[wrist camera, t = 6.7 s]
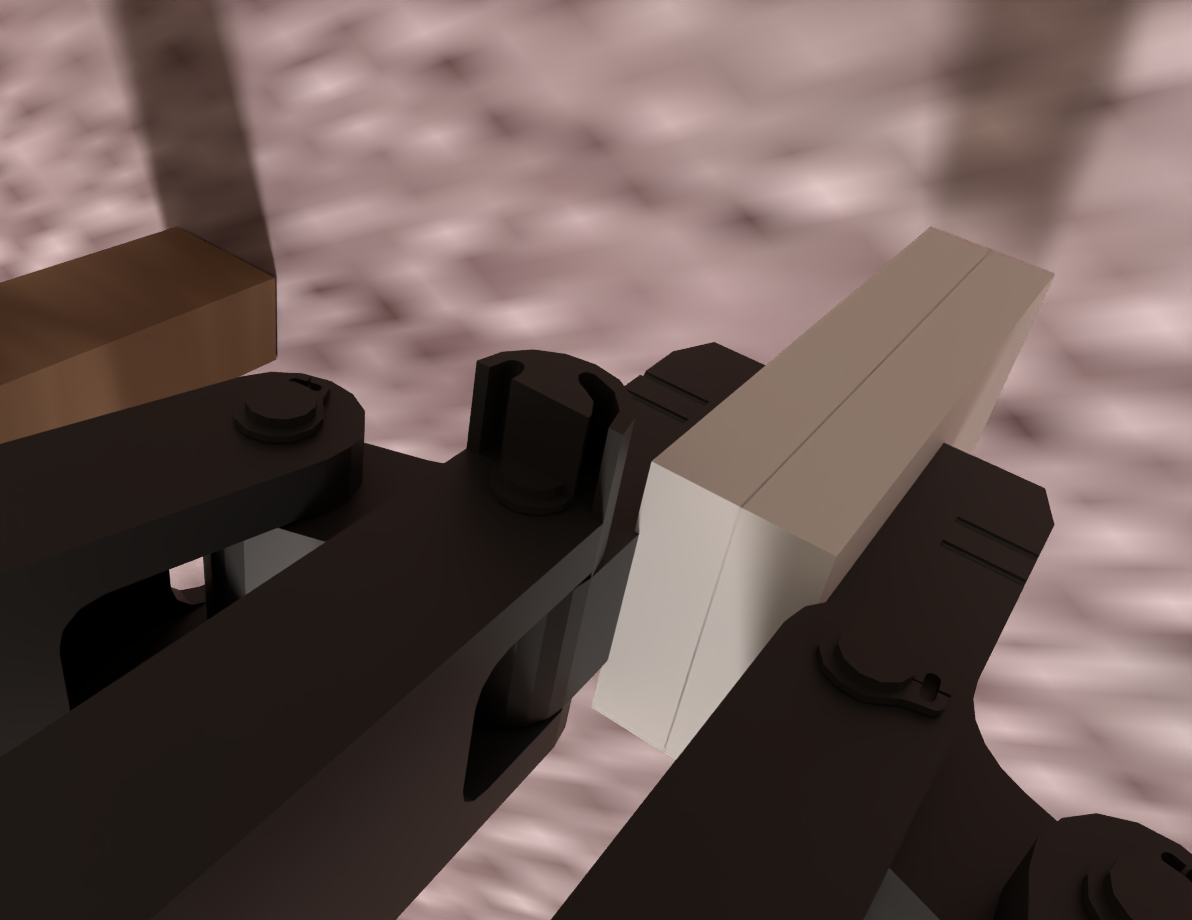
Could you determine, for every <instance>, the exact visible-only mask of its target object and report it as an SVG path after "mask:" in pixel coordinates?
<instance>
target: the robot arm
mask: <svg viewBox="0 0 1192 920" xmlns="http://www.w3.org/2000/svg"><path fill="white" fill-rule="evenodd" d="M1054 275H1055V273H1052V272H1049V271H1047V270H1044V269H1042V268H1039V267H1036V266H1034V265H1031V264H1028V263H1026V262H1023V261H1020V260H1018V259H1015V258H1012V257H1010V256H1007V255H1005V254H1002V253H999V252H997V251H994V250H991V249H989V248H986V247H983V246H981V245H978V244H975V243H973V242H970V241H968V240H965V239H962V238H960V237H957V236H954V235H952V234H949V233H946V232H944V231H941V230H939V229H936V228H933V227H930V228H929V229H927V230H926V231H925V232H924V233H923V234H922V235H920V236H919V237H918V238H917V239H916V240H914V241H913V242H912V243H911V244H910V245H908V246H907V247H906V248H905V249H904V250H902V251H901V252H900V253H899V254H898V255H897V256H895V257H894V258H893V259H892V260H891V261H889V262H888V263H887V264H886V265H885V266H883V267H882V268H881V269H880V270H879V271H877V272H876V273H875V274H874V275H873V276H872V277H870V278H869V279H868V280H867V281H866V282H864V283H863V284H862V285H861V286H860V287H858V288H857V289H856V290H855V291H854V292H853V293H851V294H850V295H849V296H848V297H847V298H845V299H844V300H843V301H842V302H841V303H839V304H838V305H837V306H836V307H835V308H833V309H832V310H831V311H830V312H829V313H828V314H826V315H825V316H824V317H823V318H822V319H820V320H819V321H818V322H817V323H816V324H814V325H813V326H812V327H811V328H810V329H808V330H807V331H806V332H805V333H804V334H803V335H801V336H800V337H799V338H798V339H797V340H795V341H794V342H793V343H792V344H791V345H789V346H788V347H787V348H786V349H785V350H784V351H782V352H781V353H780V354H779V355H778V356H776V357H775V358H774V359H773V360H772V361H770V362H769V363H768V364H767V365H763V364H761V363H759V362H757V361H755V360H752V359H750V358H748V357H746V356H744V355H741V354H739V353H737V352H735V351H733V350H730V349H728V348H726V347H724V346H722V345H719V344H717V343H715V342H713V343H708V344H704V345H699V346H695V347H691V348H686V349H682V350H677V351H673V352H672V353H670V354H669V355H667V356H666V357H665V358H663V359H662V360H660V361H659V362H658V363H656V364H655V365H653V366H652V367H651V368H649V369H648V370H646V372H645V374H644V376H642V375H639V376H638V377H637V378H635V379H634V380H632V381H631V382H630V383H628V384H627V385H625V386H624V385H623V384H622V382H621V381H620V380H619V379H617V378H616V377H614V376H613V375H611V374H610V373H608V372H607V371H605V370H604V369H602V368H600V367H599V366H597V365H596V364H593V363H590V362H587V361H584V360H582V359H579V358H576V357H573V356H570V355H567V354H562V353H555V352H548V351H541V350H520V351H506V352H500V353H497V354H495V355H492V356H489V357H486V358H483V359H481V360H478V361H477V364H476V373H475V381H474V390H473V398H472V407H471V415H470V424H469V432H468V441H467V449H465V450H464V451H462V452H461V453H459V454H457V455H456V456H454V457H453V458H451V459H450V460H448V461H447V462H445V463H439V462H434V461H429V460H424V459H421V458H417V457H414V456H410V455H407V454H403V453H399V452H396V451H392V450H389V449H385V448H381V447H378V446H374V445H371V444H367V443H364V431H365V411H364V409H363V408H362V406H361V405H360V404H359V402H358V401H357V399H356V398H355V397H354V395H353V394H352V393H350V392H348V391H347V390H345V389H343V388H342V387H340V386H338V385H337V384H335V383H333V382H332V381H328V380H325V379H321V378H317V377H314V376H310V375H306V374H303V373H283V372H267V373H261V374H254V375H248V376H242V377H238V378H234V379H230V380H227V381H223V382H220V383H216V384H213V385H209V386H205V387H202V388H198V389H195V390H191V391H187V392H184V393H180V394H177V395H173V396H170V397H166V398H162V399H159V400H155V401H152V402H148V403H145V404H141V405H137V406H134V407H130V408H127V409H123V410H120V411H116V412H112V413H109V414H105V415H102V416H98V417H95V418H91V419H87V420H84V421H80V422H77V423H73V424H69V425H66V426H62V427H59V428H55V429H52V430H48V431H44V432H41V433H37V434H34V435H30V436H27V437H23V438H19V439H16V440H12V441H9V442H5V443H2V444H0V920H396V919H397V918H398V917H399V916H400V914H401V913H402V912H403V911H404V910H405V909H406V908H407V907H408V906H409V905H410V904H411V902H412V901H413V900H414V899H415V898H416V897H417V896H418V895H419V894H420V893H421V892H422V890H423V889H424V888H425V887H426V886H427V885H428V884H429V883H430V882H431V881H432V880H433V878H434V877H435V876H436V875H437V874H438V873H439V872H440V871H441V870H442V869H443V868H444V866H445V865H446V864H447V863H448V862H449V861H450V860H451V859H452V858H453V857H454V856H455V854H456V853H457V852H458V851H459V850H460V849H461V848H462V847H463V846H464V845H465V844H466V842H467V841H468V840H469V839H470V838H471V837H472V836H473V835H474V834H475V833H476V832H477V830H478V829H479V828H480V827H481V826H482V825H483V824H484V823H485V822H486V821H487V820H488V818H489V817H490V816H491V815H492V814H493V813H494V812H495V811H496V810H497V809H498V808H499V806H500V805H501V804H502V803H503V802H504V801H505V800H506V799H507V798H508V797H509V796H510V794H511V793H512V792H513V791H514V790H515V789H516V788H517V787H518V786H519V785H520V784H521V782H522V781H523V780H524V779H525V778H526V777H527V776H528V775H529V774H530V773H531V772H532V770H533V769H534V768H535V767H536V766H537V765H538V764H539V763H540V762H541V761H542V760H543V758H544V757H545V756H546V755H547V754H548V753H549V752H550V751H551V750H552V749H553V748H554V746H555V744H556V743H557V741H558V739H559V737H560V735H561V734H562V732H563V730H564V728H565V726H566V721H567V717H568V712H569V708H570V703H571V699H572V697H573V696H574V695H575V694H576V693H577V692H578V691H579V690H580V689H581V688H582V687H583V686H584V685H585V684H586V683H587V682H588V681H589V680H590V679H591V677H592V676H593V675H594V674H595V673H596V672H597V671H598V670H599V669H600V668H601V670H600V675H599V679H598V683H597V687H596V691H595V695H594V699H593V703H592V707H591V708H593V709H595V710H596V711H598V712H599V713H601V714H603V715H604V716H606V717H607V718H609V719H611V720H612V721H614V722H615V723H617V724H619V725H620V726H622V727H623V728H625V729H627V730H628V731H630V732H631V733H633V734H634V735H636V736H638V737H639V738H641V739H642V740H644V741H646V742H647V743H649V744H650V745H652V746H654V747H655V748H657V749H658V750H660V751H662V752H663V753H665V754H666V755H668V756H670V757H671V758H673V759H674V760H675V762H674V763H673V764H672V766H671V767H670V768H669V769H668V771H667V772H666V773H665V775H664V776H663V777H662V778H661V780H660V781H659V782H658V783H657V785H656V786H655V787H654V789H653V790H652V791H651V792H650V794H649V795H648V796H647V798H646V799H645V800H644V801H643V803H642V804H641V805H640V806H639V808H638V809H637V810H636V812H635V813H634V814H633V815H632V817H631V818H630V819H629V821H628V822H627V823H626V824H625V826H624V827H623V828H622V829H621V831H620V832H619V833H618V835H617V836H616V837H615V838H614V840H613V841H612V842H611V844H610V845H609V846H608V847H607V849H606V850H605V851H604V852H603V854H602V855H601V856H600V858H599V859H598V860H597V861H596V863H595V864H594V865H593V867H592V868H591V869H590V870H589V872H588V873H587V874H586V875H585V877H584V878H583V879H582V881H581V882H580V883H579V884H578V886H577V887H576V888H575V890H574V891H573V892H572V893H571V895H570V896H569V897H568V898H567V900H566V901H565V902H564V904H563V905H562V906H561V907H560V909H559V910H558V911H557V913H556V914H555V915H554V916H553V918H552V919H551V920H1192V854H1191V853H1190V852H1188V851H1187V850H1186V849H1185V848H1184V847H1182V846H1181V845H1180V844H1178V843H1176V842H1174V841H1172V840H1170V839H1168V838H1166V837H1164V836H1162V835H1160V834H1158V833H1157V832H1155V831H1153V830H1151V829H1149V828H1147V827H1145V826H1143V825H1141V824H1139V823H1137V822H1132V821H1128V820H1124V819H1119V818H1115V817H1110V816H1106V815H1102V814H1097V813H1095V814H1088V815H1080V816H1073V817H1066V818H1061V819H1060V820H1059V821H1056V820H1055V819H1054V818H1053V817H1052V816H1051V815H1050V814H1048V813H1047V812H1046V811H1045V810H1044V809H1043V808H1042V807H1041V806H1039V805H1038V804H1037V803H1036V802H1035V801H1034V800H1033V799H1032V798H1030V797H1029V796H1028V795H1027V794H1026V793H1025V792H1024V791H1023V790H1022V789H1021V788H1020V787H1019V786H1018V785H1017V784H1016V783H1015V782H1014V781H1013V780H1012V779H1011V778H1010V777H1009V776H1008V775H1007V774H1006V772H1005V771H1004V770H1003V769H1002V768H1001V767H1000V765H999V764H998V762H997V761H996V759H995V758H994V756H993V755H992V753H991V752H990V751H989V749H988V748H987V746H986V745H985V743H984V740H983V738H982V735H981V733H980V730H979V728H978V725H977V723H976V720H975V711H974V701H973V698H974V694H975V690H976V686H977V682H978V679H979V677H980V675H981V673H982V671H983V669H984V667H985V665H986V663H987V661H988V659H989V657H990V655H991V653H992V651H993V649H994V647H995V645H996V643H997V641H998V639H999V637H1000V635H1001V632H1002V630H1003V628H1004V626H1005V624H1006V622H1007V620H1008V618H1009V616H1010V614H1011V612H1012V610H1013V608H1014V606H1015V604H1016V602H1017V600H1018V598H1019V596H1020V594H1021V592H1022V590H1023V588H1024V585H1025V583H1026V581H1027V579H1028V577H1029V575H1030V573H1031V571H1032V569H1033V567H1034V565H1035V563H1036V561H1037V559H1038V557H1039V555H1040V553H1041V551H1042V549H1043V547H1044V545H1045V543H1046V541H1047V539H1048V537H1049V535H1050V533H1051V531H1052V529H1053V526H1054V522H1053V518H1052V514H1051V510H1050V506H1049V502H1048V498H1047V494H1046V490H1045V488H1043V487H1041V486H1039V485H1036V484H1034V483H1032V482H1030V481H1028V480H1025V479H1023V478H1021V477H1019V476H1017V475H1014V474H1012V473H1010V472H1008V471H1006V470H1003V469H1001V468H999V467H997V466H995V465H992V464H990V463H988V462H986V461H983V460H981V459H979V458H977V457H975V456H972V453H973V451H974V449H975V447H976V445H977V442H978V440H979V438H980V436H981V434H982V432H983V429H984V427H985V425H986V423H987V421H988V419H989V416H990V414H991V412H992V410H993V408H994V406H995V403H996V401H997V399H998V397H999V395H1000V393H1001V390H1002V388H1003V386H1004V384H1005V382H1006V380H1007V377H1008V375H1009V373H1010V371H1011V369H1012V366H1013V364H1014V362H1015V360H1016V358H1017V356H1018V353H1019V351H1020V349H1021V347H1022V345H1023V343H1024V340H1025V338H1026V336H1027V334H1028V332H1029V330H1030V327H1031V325H1032V323H1033V321H1034V319H1035V317H1036V314H1037V312H1038V310H1039V308H1040V306H1041V304H1042V301H1043V299H1044V297H1045V295H1046V293H1047V291H1048V288H1049V286H1050V284H1051V282H1052V280H1053V278H1054ZM200 557H203V563H204V579H205V585H202V586H200V587H196V588H190V589H185V590H178V589H175V588H172V587H171V585H170V574H169V569H172V568H174V567H177V566H180V565H182V564H185V563H187V562H190V561H193V560H195V559H198V558H200Z"/></svg>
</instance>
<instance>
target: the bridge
mask: <svg viewBox="0 0 1192 920" xmlns="http://www.w3.org/2000/svg"><path fill="white" fill-rule="evenodd" d="M274 360H276V299H275V277H273V276H271V275H269V274H267V273H265V272H263V271H261V270H259V269H257V268H255V267H254V266H252V265H250V264H248V263H246V262H244V261H242V260H240V259H238V258H236V257H234V256H232V255H230V254H228V253H227V252H225V251H223V250H221V249H219V248H217V247H215V246H213V245H211V244H209V243H207V242H205V241H203V240H202V239H200V238H198V237H196V236H194V235H192V234H190V233H188V232H186V231H184V230H182V229H180V228H178V227H174V228H171V229H168V230H165V231H162V232H158V233H155V234H152V235H149V236H146V237H143V238H140V239H136V240H133V241H130V242H127V243H124V244H121V245H118V246H114V247H111V248H108V249H105V250H102V251H99V252H96V253H92V254H89V255H86V256H83V257H80V258H77V259H74V260H70V261H67V262H64V263H61V264H58V265H55V266H51V267H48V268H45V269H42V270H39V271H36V272H33V273H29V274H26V275H23V276H20V277H17V278H14V279H11V280H7V281H4V282H1V283H0V444H2V443H5V442H9V441H12V440H16V439H19V438H23V437H27V436H30V435H34V434H37V433H41V432H44V431H48V430H52V429H55V428H59V427H62V426H66V425H69V424H73V423H77V422H80V421H84V420H87V419H91V418H95V417H98V416H102V415H105V414H109V413H112V412H116V411H120V410H123V409H127V408H130V407H134V406H137V405H141V404H145V403H148V402H152V401H155V400H159V399H162V398H166V397H170V396H173V395H177V394H180V393H184V392H187V391H191V390H195V389H198V388H202V387H205V386H209V385H213V384H216V383H220V382H223V381H227V380H230V379H234V378H237V377H239V376H242V375H244V374H246V373H248V372H250V371H252V370H255V369H257V368H259V367H261V366H263V365H265V364H267V363H270V362H272V361H274Z"/></svg>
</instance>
